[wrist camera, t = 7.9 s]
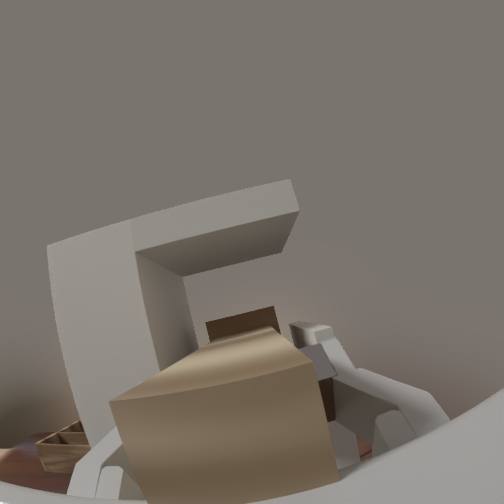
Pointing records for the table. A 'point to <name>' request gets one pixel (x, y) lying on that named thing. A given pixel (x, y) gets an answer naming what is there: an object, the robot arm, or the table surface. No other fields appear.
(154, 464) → the mallet
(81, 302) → the stand
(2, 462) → the table surface
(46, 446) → the parts tray
